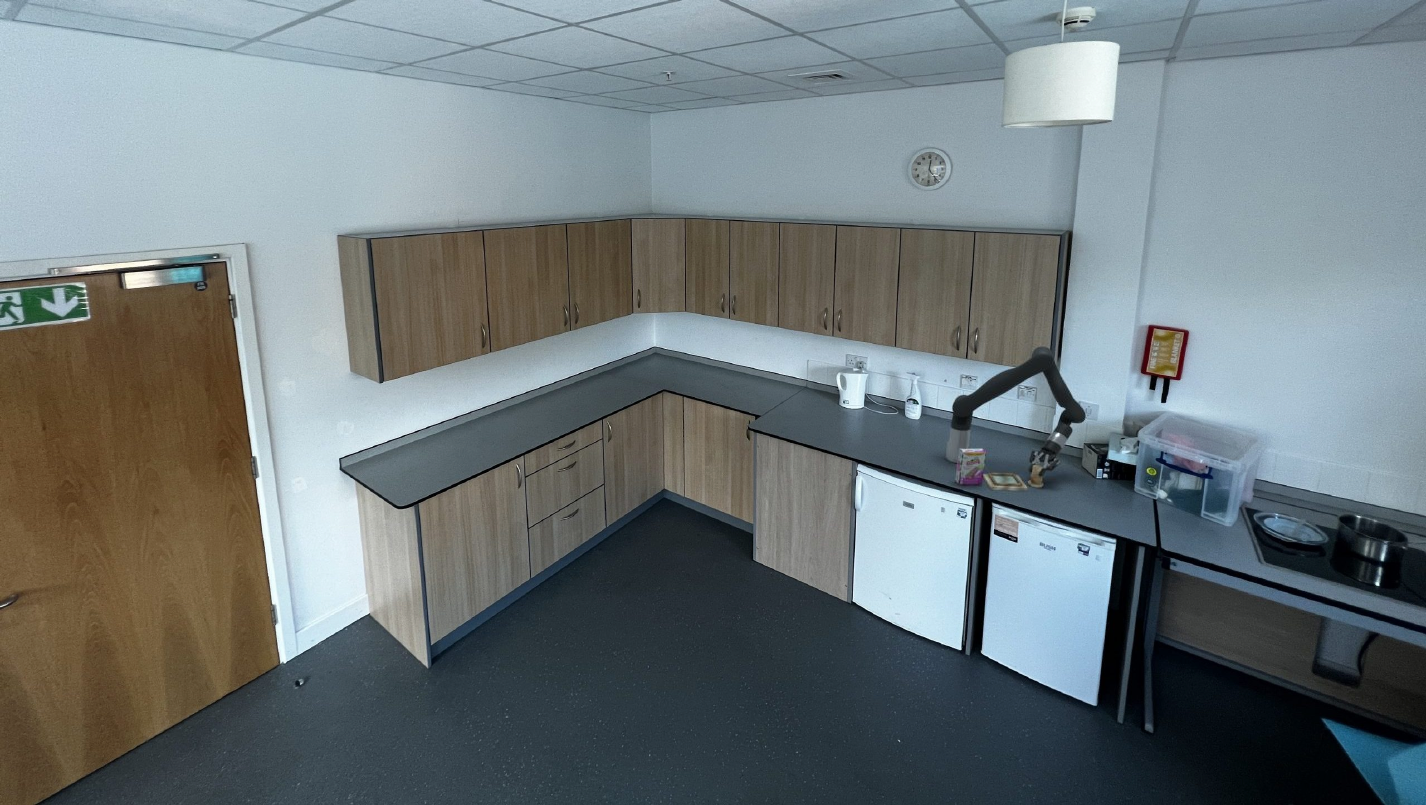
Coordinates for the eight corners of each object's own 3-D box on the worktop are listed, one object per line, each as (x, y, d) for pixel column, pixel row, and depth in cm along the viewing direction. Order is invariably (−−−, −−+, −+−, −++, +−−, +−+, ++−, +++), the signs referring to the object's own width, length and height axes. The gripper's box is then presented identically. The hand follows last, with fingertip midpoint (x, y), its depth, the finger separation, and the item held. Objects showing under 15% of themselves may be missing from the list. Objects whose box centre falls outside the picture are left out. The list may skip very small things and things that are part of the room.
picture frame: (990, 489, 322) (991, 484, 322) (982, 476, 336) (983, 471, 335) (1027, 490, 321) (1027, 485, 320) (1017, 477, 334) (1018, 472, 333)
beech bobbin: (1024, 483, 328) (1027, 465, 325) (1033, 480, 331) (1036, 462, 328) (1037, 488, 323) (1040, 470, 320) (1045, 485, 326) (1048, 467, 323)
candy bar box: (958, 485, 327) (962, 452, 322) (954, 480, 332) (958, 448, 326) (982, 484, 327) (986, 452, 322) (978, 480, 332) (982, 447, 327)
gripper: (1037, 435, 330) (1017, 464, 328) (1066, 444, 318) (1046, 475, 316) (1043, 443, 334) (1023, 472, 332) (1071, 453, 323) (1051, 483, 321)
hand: (1034, 473), depth 324 cm, fingers closed on beech bobbin, 4 cm apart
